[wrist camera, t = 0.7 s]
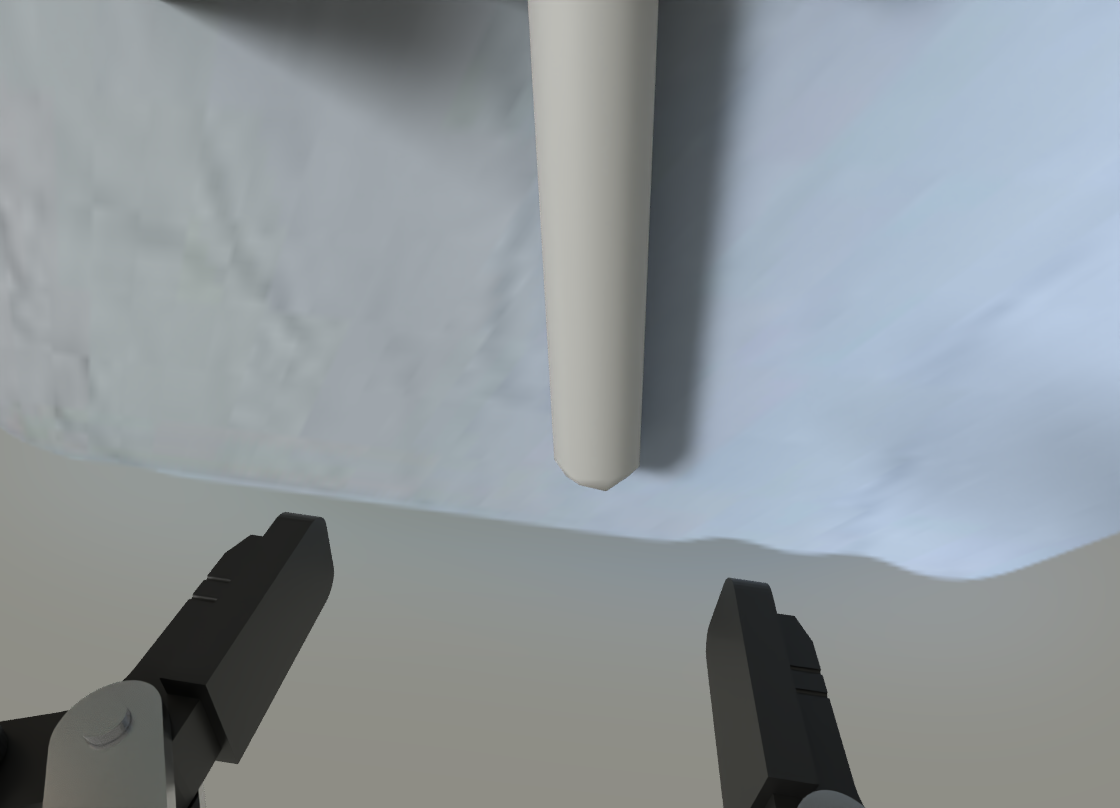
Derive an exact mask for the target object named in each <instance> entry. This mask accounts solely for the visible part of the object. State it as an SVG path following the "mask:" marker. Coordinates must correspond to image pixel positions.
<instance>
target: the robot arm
mask: <svg viewBox="0 0 1120 808" xmlns="http://www.w3.org/2000/svg"><path fill="white" fill-rule="evenodd" d="M333 577H334V567H333V561H332V555H331V549H330V544H329V538H328V532H327V527H326V522H325V520H324V519H323V518H322V517H316V516H309V515H302V514H296V513H289V512H284V513H282V514H280V515H279V516H278V517H277V518H276V520H275V521H274V522H273V524H272V525H271V526H270V528H269V529H268V530H267V532H266V533H265V534H264V536H263V537H262V536H256V535H250V536H248V537H247V538H246V539H244V540H243V541H242V542H240V543H239V544H237V545H236V546H234V547H233V548H232V549H230V550H229V551H227V552H226V553H225V554H224V555H223V557H222V558H221V559H220V560H219V561H218V563H217V564H216V565H215V567H214V568H213V569H212V570H211V572H210V573H209V574H208V578H207V580H204V581H203V582H202V583H201V584H200V586H199V587H198V588H197V590H196V591H195V592H194V593H193V597H192V599H189V600H188V601H187V602H186V603H185V605H184V606H183V607H182V609H181V610H180V611H179V612H178V614H177V615H176V616H175V618H174V619H173V620H172V621H171V623H170V624H169V625H168V626H167V628H166V629H165V630H164V632H163V633H162V634H161V635H160V637H159V638H158V639H157V641H156V642H155V643H154V644H153V646H152V647H151V648H150V649H149V650H148V652H147V653H146V654H145V656H144V657H143V658H142V659H141V661H140V662H139V663H138V665H137V666H136V667H135V668H134V670H133V671H132V672H131V673H130V674H129V675H128V676H127V677H126V678H125V679H124V680H123V681H121V682H116V683H113V684H110V685H107V686H105V687H102V688H100V689H98V690H96V691H94V692H92V693H90V694H89V695H87V696H86V697H84V698H83V699H81V700H80V701H79V702H78V703H76V704H75V705H74V706H73V707H72V708H71V709H70V710H68V711H63V712H58V713H52V714H45V715H39V716H33V717H27V718H21V719H14V720H8V721H2V722H0V808H206V803H205V793H204V786H203V781H204V779H205V777H206V776H207V774H208V772H209V771H210V769H211V767H212V765H213V763H214V762H215V760H216V761H222V762H228V763H234V764H238V763H239V761H240V759H241V758H242V756H243V754H244V752H245V750H246V748H247V746H248V745H249V743H250V741H251V739H252V737H253V736H254V734H255V732H256V730H257V728H258V726H259V724H260V723H261V721H262V719H263V717H264V715H265V713H266V712H267V710H268V708H269V706H270V704H271V702H272V700H273V699H274V697H275V695H276V693H277V691H278V689H279V688H280V686H281V684H282V682H283V680H284V678H285V676H286V675H287V673H288V671H289V669H290V667H291V665H292V664H293V662H294V660H295V658H296V656H297V654H298V652H299V651H300V649H301V647H302V645H303V643H304V641H305V639H306V638H307V636H308V634H309V632H310V630H311V628H312V626H313V625H314V623H315V621H316V619H317V617H318V615H319V614H320V612H321V610H322V608H323V606H324V604H325V603H326V600H327V599H328V596H329V594H330V591H331V587H332V583H333ZM706 659H707V668H708V677H709V686H710V694H711V703H712V712H713V720H714V729H715V738H716V746H717V755H718V764H719V773H720V780H721V790H722V798H723V806H724V808H865V807H864V805H863V804H862V802H861V800H860V798H859V795H858V793H857V790H856V787H855V785H854V781H853V778H852V774H851V771H850V768H849V764H848V761H847V758H846V754H845V750H844V748H843V744H842V740H841V737H840V733H839V730H838V727H837V723H836V720H835V716H834V713H833V709H832V706H831V703H830V699H829V698H827V689H826V686H825V682H824V679H823V676H822V675H821V674H820V671H821V669H820V665H819V662H818V658H817V655H816V651H815V648H814V645H813V642H812V640H811V639H810V637H809V636H808V634H807V633H806V632H805V630H804V629H803V627H802V626H801V625H800V623H799V622H798V620H797V619H796V618H795V616H790V615H783V614H777V611H776V607H775V603H774V599H773V595H772V592H771V588H770V586H769V585H768V584H767V583H761V582H754V581H748V580H741V579H734V578H727V579H726V581H725V583H724V585H723V588H722V591H721V594H720V596H719V599H718V602H717V605H716V608H715V610H714V613H713V616H712V619H711V622H710V625H709V628H708V633H707V642H706Z"/></svg>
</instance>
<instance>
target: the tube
mask: <svg viewBox="0 0 1120 808" xmlns="http://www.w3.org/2000/svg"><path fill="white" fill-rule="evenodd" d="M658 3H659V0H528V13H529V30H530V48H531V65H532V82H533V99H534V117H535V134H536V151H537V168H538V186H539V203H540V220H541V237H542V255H543V272H544V289H545V306H546V324H547V341H548V358H549V375H550V393H551V410H552V427H553V444H554V459H555V461H556V462H557V464H558V465H559V467H560V468H561V469H562V471H563V472H564V474H565V475H566V476H567V477H568V478H570V479H571V480H573V481H574V482H576V483H577V484H579V485H582V486H586V487H590V488H594V489H599V490H603V491H607V490H609V489H610V488H612V487H613V486H615V485H616V484H618V483H619V482H621V481H622V480H624V479H625V478H627V477H628V476H629V475H630V474H631V473H633V472H634V471H635V470H636V469H637V468H638V467H639V462H640V438H641V414H642V390H643V365H644V341H645V317H646V293H647V269H648V245H649V220H650V196H651V172H652V148H653V124H654V100H655V75H656V51H657V27H658Z"/></svg>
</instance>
